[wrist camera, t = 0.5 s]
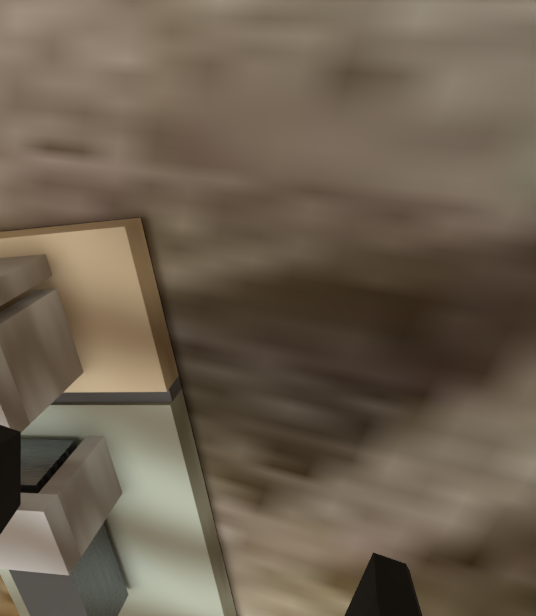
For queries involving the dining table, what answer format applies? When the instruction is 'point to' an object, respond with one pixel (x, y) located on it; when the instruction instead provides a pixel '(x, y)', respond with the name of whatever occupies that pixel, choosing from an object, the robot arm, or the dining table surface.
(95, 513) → the base
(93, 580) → the charcoal brick
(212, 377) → the dining table surface
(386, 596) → the robot arm
